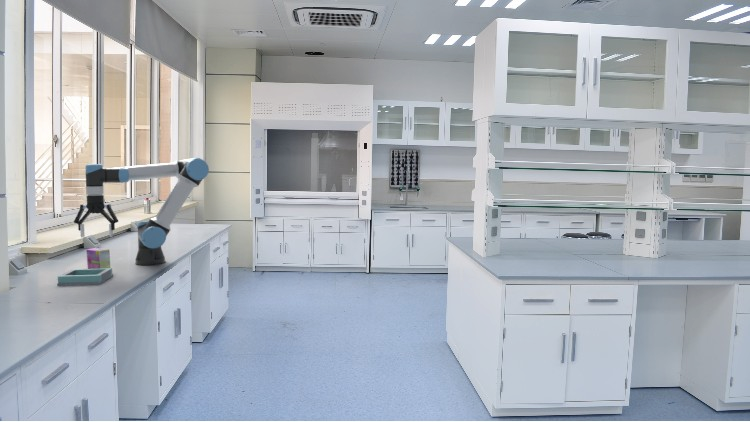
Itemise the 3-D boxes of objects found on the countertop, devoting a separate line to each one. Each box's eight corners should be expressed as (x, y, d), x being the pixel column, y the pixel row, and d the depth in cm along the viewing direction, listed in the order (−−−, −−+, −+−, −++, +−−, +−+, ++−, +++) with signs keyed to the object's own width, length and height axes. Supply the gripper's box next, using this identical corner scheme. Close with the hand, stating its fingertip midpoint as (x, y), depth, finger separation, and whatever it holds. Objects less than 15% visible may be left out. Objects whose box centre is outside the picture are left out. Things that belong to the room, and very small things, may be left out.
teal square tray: (113, 275, 258) (112, 267, 258) (99, 284, 240) (98, 275, 240) (73, 276, 255) (73, 268, 255) (57, 285, 238) (56, 277, 237)
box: (87, 272, 266) (86, 249, 265) (97, 270, 271) (96, 247, 270) (100, 274, 262) (99, 250, 260) (110, 272, 267) (109, 249, 265)
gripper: (123, 194, 268) (125, 235, 270) (71, 194, 264) (73, 236, 267) (119, 195, 261) (120, 237, 263) (65, 195, 257) (67, 238, 259)
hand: (97, 236), depth 265 cm, fingers open, 13 cm apart
